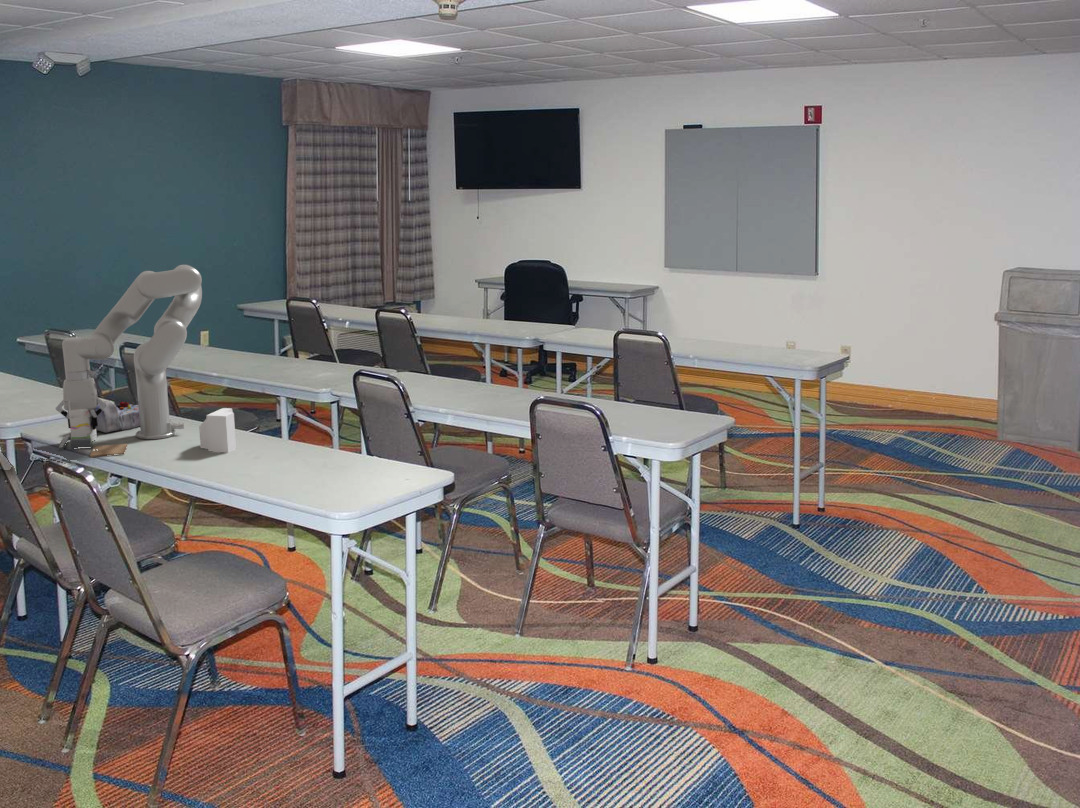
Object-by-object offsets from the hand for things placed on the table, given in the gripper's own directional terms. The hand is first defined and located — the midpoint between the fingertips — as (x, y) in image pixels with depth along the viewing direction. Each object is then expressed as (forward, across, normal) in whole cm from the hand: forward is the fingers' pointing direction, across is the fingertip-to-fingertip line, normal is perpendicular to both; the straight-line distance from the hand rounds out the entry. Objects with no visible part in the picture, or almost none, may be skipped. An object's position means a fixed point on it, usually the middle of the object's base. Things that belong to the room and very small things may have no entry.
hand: (83, 428), depth 346 cm
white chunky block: (+5, -43, +19) cm, 47 cm away
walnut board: (+5, -9, +14) cm, 17 cm away
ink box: (+5, 0, 0) cm, 5 cm away
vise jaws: (+5, +2, 0) cm, 5 cm away
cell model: (+5, -9, -19) cm, 21 cm away
